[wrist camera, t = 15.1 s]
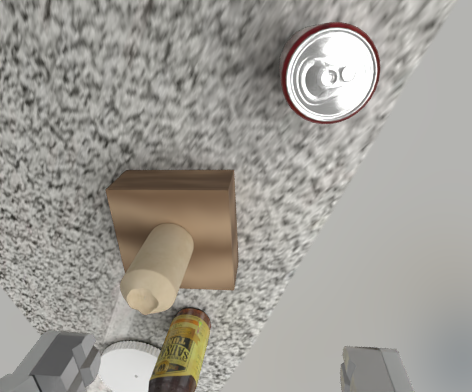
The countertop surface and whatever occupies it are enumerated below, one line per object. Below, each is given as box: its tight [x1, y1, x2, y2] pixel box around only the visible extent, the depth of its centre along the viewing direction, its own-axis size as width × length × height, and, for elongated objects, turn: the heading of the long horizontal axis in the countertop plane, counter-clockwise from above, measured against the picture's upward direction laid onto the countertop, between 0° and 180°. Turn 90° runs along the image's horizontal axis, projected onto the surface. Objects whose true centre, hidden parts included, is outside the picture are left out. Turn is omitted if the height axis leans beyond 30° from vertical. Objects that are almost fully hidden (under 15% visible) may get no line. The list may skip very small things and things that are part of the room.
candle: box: [120, 223, 194, 315], centre depth 35 cm, size 6×6×10 cm
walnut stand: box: [106, 170, 238, 290], centre depth 43 cm, size 14×14×6 cm
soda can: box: [279, 22, 380, 124], centre depth 30 cm, size 7×7×12 cm
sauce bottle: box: [148, 308, 211, 392], centre depth 45 cm, size 7×6×20 cm
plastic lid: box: [98, 341, 161, 392], centre depth 59 cm, size 14×14×2 cm
